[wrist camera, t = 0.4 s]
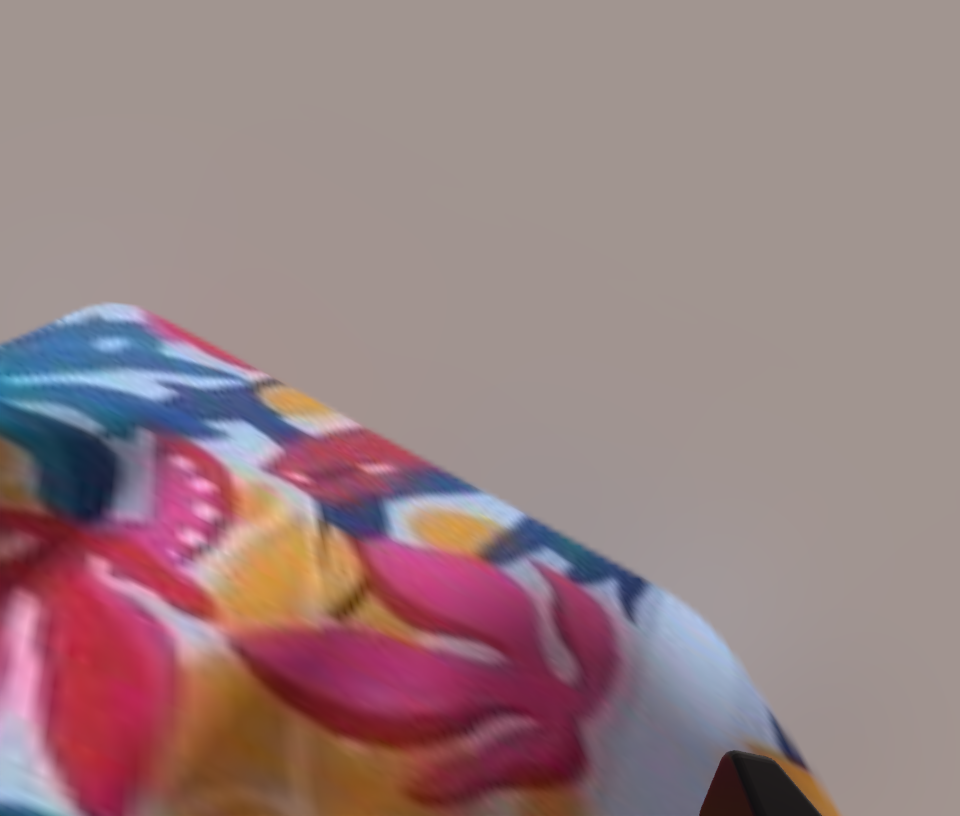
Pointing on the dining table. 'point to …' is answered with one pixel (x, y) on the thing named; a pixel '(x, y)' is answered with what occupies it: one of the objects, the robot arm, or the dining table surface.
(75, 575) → the dining table surface
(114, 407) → the dining table surface
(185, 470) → the dining table surface
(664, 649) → the dining table surface
